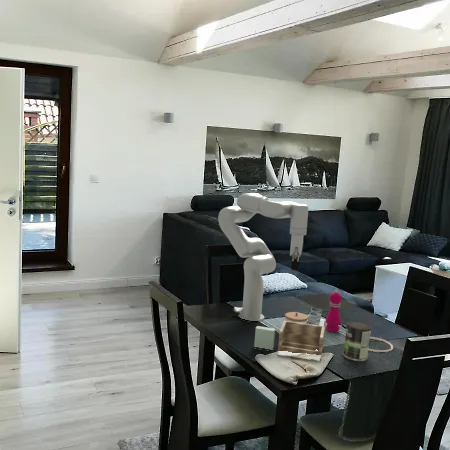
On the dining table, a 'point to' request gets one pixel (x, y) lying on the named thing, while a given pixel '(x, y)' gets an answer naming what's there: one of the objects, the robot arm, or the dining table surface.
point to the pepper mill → (334, 312)
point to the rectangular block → (264, 337)
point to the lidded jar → (296, 317)
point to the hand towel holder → (383, 341)
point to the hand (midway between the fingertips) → (295, 267)
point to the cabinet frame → (301, 338)
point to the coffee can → (357, 340)
